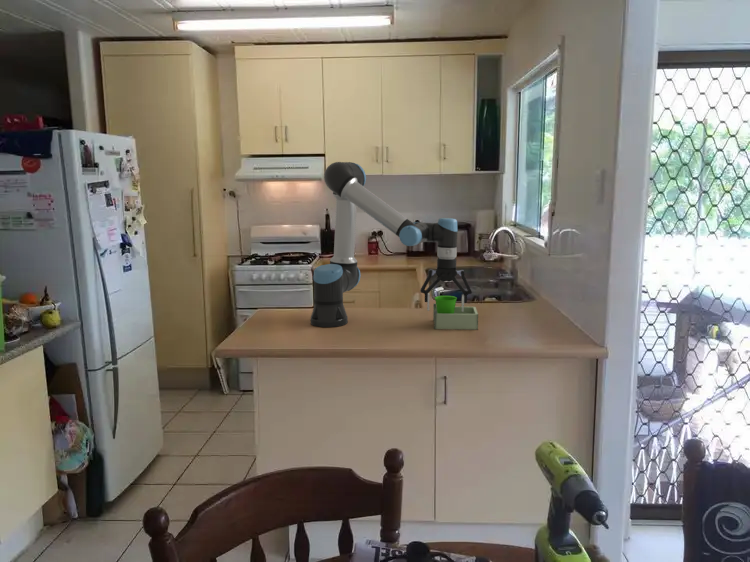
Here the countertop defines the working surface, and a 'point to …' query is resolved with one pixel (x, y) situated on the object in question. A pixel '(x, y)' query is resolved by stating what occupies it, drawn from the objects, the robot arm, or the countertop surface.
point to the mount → (456, 319)
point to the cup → (445, 304)
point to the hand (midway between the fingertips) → (445, 310)
